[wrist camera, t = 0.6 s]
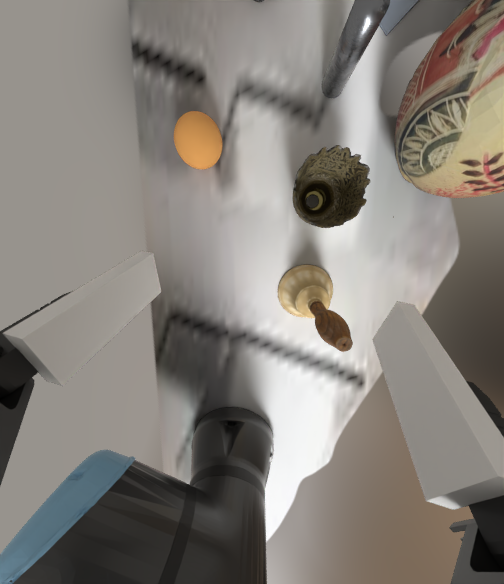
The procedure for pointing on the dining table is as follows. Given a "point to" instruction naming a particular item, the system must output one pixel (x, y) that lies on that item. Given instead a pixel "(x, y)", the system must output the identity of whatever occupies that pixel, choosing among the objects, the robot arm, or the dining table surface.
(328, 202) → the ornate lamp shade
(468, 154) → the ceramic jug
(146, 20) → the dining table surface
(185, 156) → the ball
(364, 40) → the gate post
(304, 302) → the hand bell
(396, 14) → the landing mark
